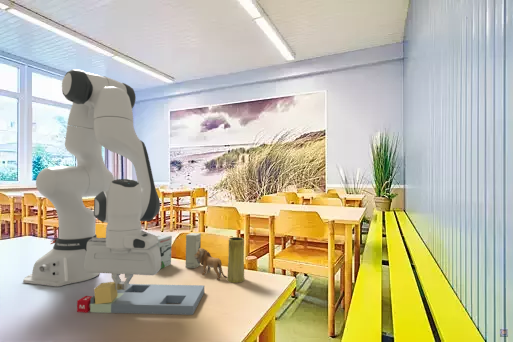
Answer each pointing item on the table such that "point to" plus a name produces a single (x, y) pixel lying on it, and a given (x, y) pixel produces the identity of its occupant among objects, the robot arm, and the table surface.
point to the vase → (236, 260)
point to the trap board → (153, 299)
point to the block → (105, 293)
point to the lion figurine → (209, 262)
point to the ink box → (165, 249)
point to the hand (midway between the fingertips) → (122, 289)
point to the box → (192, 249)
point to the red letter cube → (84, 304)
